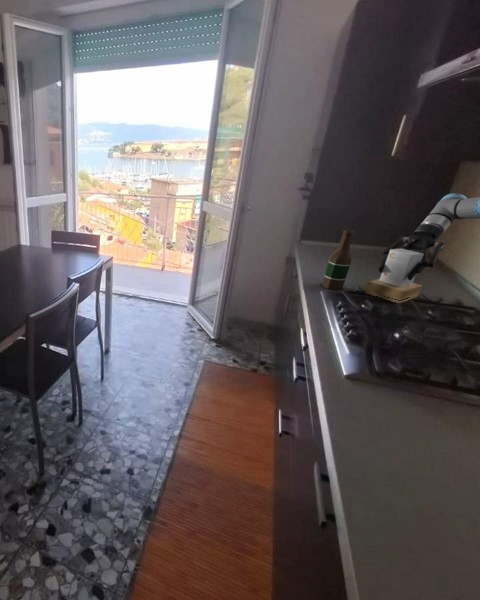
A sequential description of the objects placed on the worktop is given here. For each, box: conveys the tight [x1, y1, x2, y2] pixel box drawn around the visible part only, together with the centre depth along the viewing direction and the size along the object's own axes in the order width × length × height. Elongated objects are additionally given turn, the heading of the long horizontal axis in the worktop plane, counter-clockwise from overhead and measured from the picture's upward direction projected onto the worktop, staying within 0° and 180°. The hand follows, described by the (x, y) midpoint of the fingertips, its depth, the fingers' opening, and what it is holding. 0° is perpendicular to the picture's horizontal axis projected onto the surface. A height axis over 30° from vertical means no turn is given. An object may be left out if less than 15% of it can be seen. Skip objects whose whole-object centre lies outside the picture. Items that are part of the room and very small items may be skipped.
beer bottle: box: [321, 229, 355, 291], centre depth 146 cm, size 8×8×24 cm
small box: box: [379, 248, 424, 287], centre depth 138 cm, size 8×6×13 cm
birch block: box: [363, 277, 423, 304], centre depth 142 cm, size 12×14×5 cm
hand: (394, 274), depth 138 cm, fingers closed on small box, 9 cm apart
